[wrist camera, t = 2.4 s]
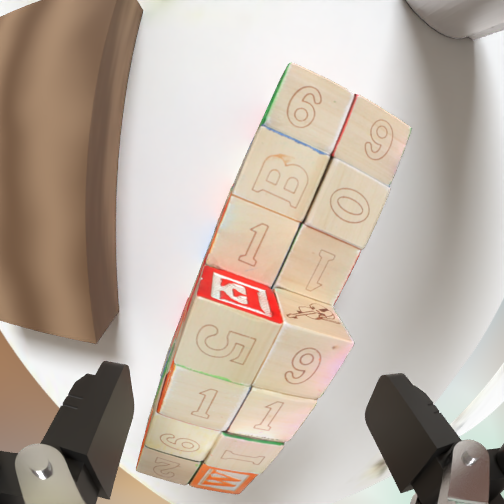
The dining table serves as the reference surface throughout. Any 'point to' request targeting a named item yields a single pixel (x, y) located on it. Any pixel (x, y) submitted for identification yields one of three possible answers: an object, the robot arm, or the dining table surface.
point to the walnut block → (62, 162)
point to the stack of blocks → (273, 286)
